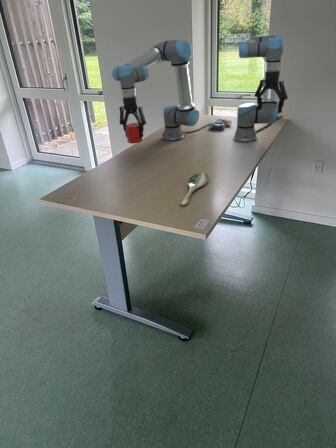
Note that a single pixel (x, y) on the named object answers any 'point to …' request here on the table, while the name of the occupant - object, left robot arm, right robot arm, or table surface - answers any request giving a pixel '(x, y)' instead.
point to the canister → (133, 133)
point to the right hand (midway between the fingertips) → (269, 111)
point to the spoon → (195, 184)
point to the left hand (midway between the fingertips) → (134, 136)
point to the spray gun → (220, 124)
